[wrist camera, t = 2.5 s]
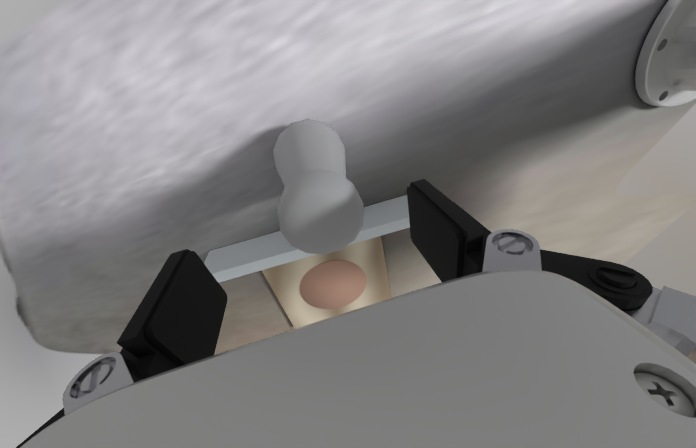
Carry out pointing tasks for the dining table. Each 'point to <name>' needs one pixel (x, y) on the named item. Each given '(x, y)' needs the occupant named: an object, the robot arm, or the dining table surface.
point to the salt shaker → (316, 189)
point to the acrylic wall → (279, 251)
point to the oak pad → (331, 282)
